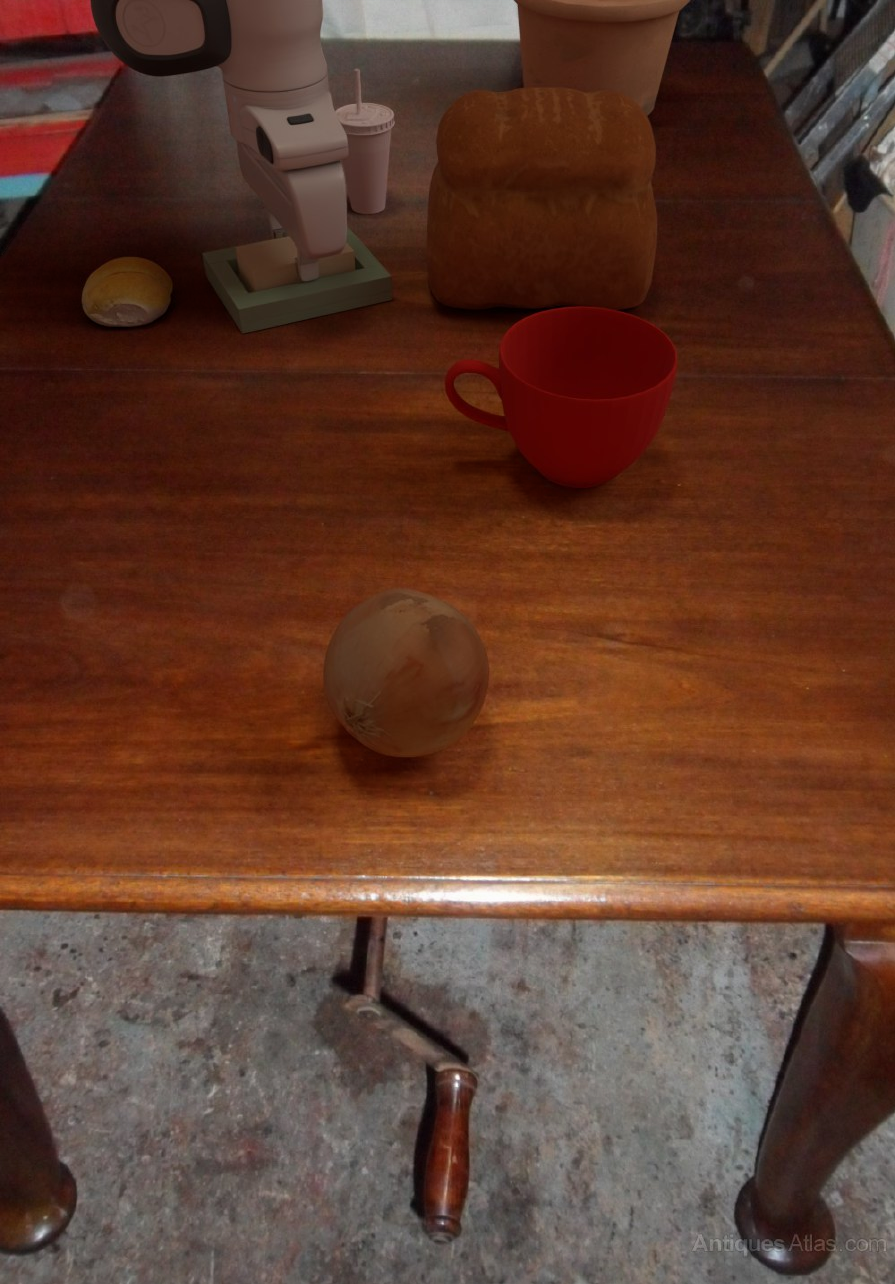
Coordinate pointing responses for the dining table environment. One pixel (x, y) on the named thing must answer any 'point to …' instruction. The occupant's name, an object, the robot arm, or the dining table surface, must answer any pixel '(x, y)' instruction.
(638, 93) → the pottery
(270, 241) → the cream pad
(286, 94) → the robot arm
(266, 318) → the base pad
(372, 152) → the smoothie
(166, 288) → the bread roll
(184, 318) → the dining table surface
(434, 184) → the bread
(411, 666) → the mottled brown ball
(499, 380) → the ceramic cup
